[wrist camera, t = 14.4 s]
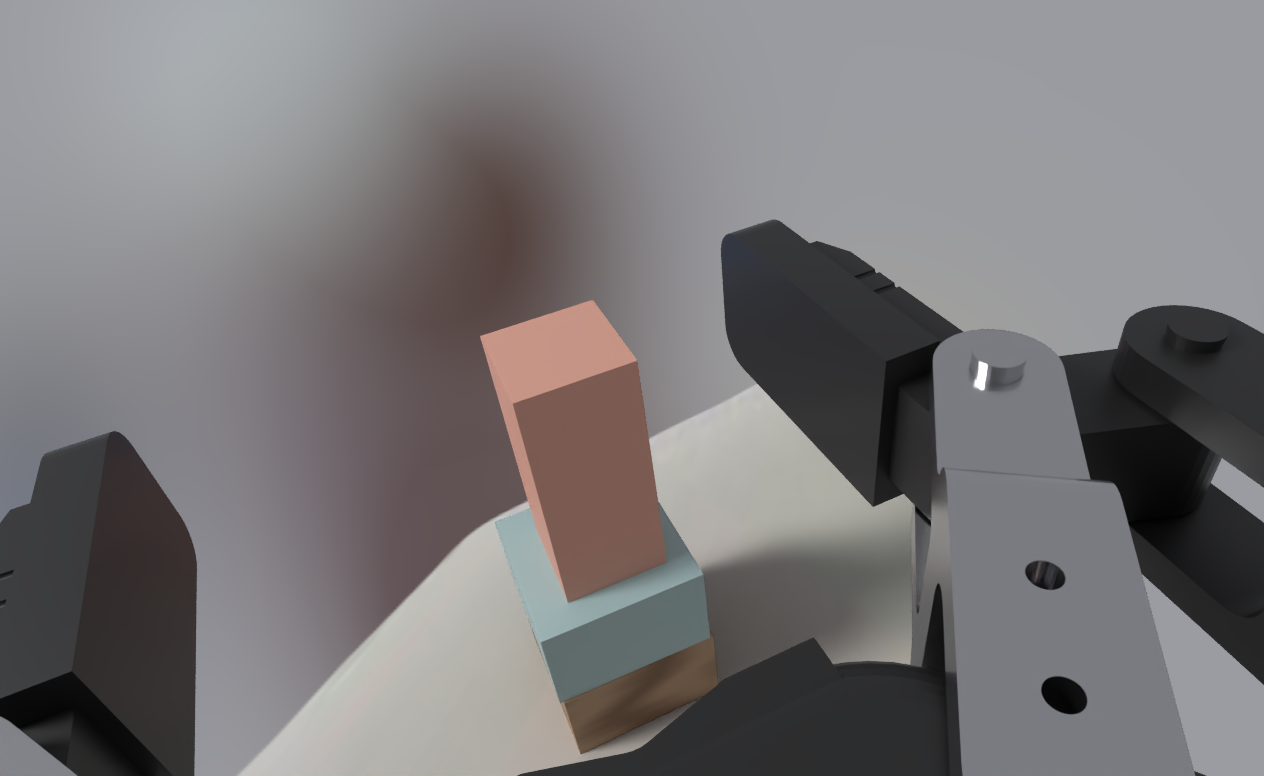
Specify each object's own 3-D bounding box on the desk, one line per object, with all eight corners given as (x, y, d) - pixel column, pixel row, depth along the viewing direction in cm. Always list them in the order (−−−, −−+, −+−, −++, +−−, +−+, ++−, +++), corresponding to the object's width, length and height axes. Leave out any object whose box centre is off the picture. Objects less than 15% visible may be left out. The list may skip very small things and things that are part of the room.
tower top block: (560, 703, 39) (540, 642, 36) (515, 583, 45) (494, 521, 42) (710, 637, 41) (703, 574, 38) (647, 530, 47) (637, 467, 44)
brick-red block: (567, 603, 38) (512, 403, 30) (536, 529, 41) (480, 336, 34) (667, 562, 39) (637, 360, 31) (627, 494, 43) (592, 299, 35)
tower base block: (581, 755, 42) (564, 703, 39) (534, 636, 48) (516, 583, 45) (718, 690, 44) (713, 635, 41) (657, 584, 50) (648, 529, 47)
